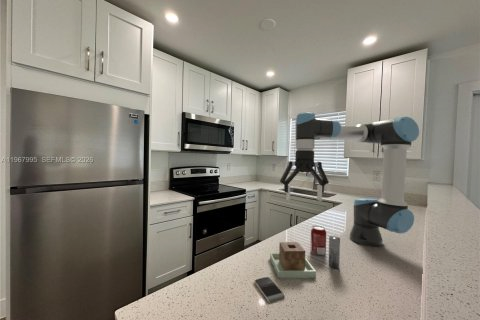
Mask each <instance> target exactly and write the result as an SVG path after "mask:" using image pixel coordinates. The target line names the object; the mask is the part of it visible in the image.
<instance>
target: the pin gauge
mask: <svg viewBox="0 0 480 320" xmlns="http://www.w3.org/2000/svg"><path fill="white" fill-rule="evenodd" d="M328 239H329V240H328V267H329V268H330V269H333V270H334V271H335V270H340V265H341V264H340V262H341V261H340V254H341V250H340V249H341V238H340V237H339V236H335V235H329V236H328Z"/></svg>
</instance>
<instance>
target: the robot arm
mask: <svg viewBox="0 0 480 320" xmlns="http://www.w3.org/2000/svg"><path fill="white" fill-rule="evenodd" d="M419 136H420V129H419V124H418V123H417V122H416V121H415V119H413V118H412V117H409V116H399V117H395V118H390V119H389V118H388V119H383V120H379V121H374V122H371V123H364V124H363V123H360V124H357V125H341V123H340V122H339V121H338V120H333V119H324V118H322V119H320V118H316V114H315V113H314V112H309V111H307V112H301V113H298V114H297V115H296V118H295V150H296V151H295V161H290V160H289V161H288V162H287V166H286V168H285V170H284V173H282V175H281V178H280V180H279V183H281V184H283V186H284V187H283V188H284V189H283V192H284V193H285V195H286V196H285V197H286V198H285V199H286V201H288V202H291V185H290V183H291V182H292V181H293V179H295V177H296V176H297V175H298V174H299V173H309V174H311V175H312V177H313V178H314V179H315V180H316V181H317V183H318V184H317V186H316V187H317V191H316V193H317V194H316V201H320V202H323V193H324V192H325V186H326V185H328V184H329V183H330V181H329V180H328V178H327V175H326V172H325V171H324V168H323V163H322V162H321V161H316V162H315V151H314V150H315V141H355V142H356V143H367V144H380V147H381V148H382V149H383V159H382V161H383V162H382V181H381V194H380V195H381V197H380V198H379V199H378V198H367V197H366V198H365V197H362V198H355V199H354V203H353V224H352V228H351V230H350V232H349V239H350V240H351V241H352V242H354V243H357V244H360V245H363V246H369V247H380V246H383V238H382V234H381V231H380V228H381V229H384V230H387V231H389V232H391V233H395V234H399V235H401V234H405V233H408V231H410V230H411V229H412V227H413V225H414V222H415V215H414V213H413V212H412V210H410V209H408V208H409V204H408V203H407V202H406V201H405V188H406V187H405V186H406V170H407V169H406V168H407V150H409V149H410V147H412V143H413V142H415V141H416V140H418V138H419ZM294 166H295V169H294V170H292V167H294ZM314 167H316V170H317V172H318V173H319V174H318V173H317V172H316V170H315V168H314ZM291 170H292V173H291ZM289 174H290V175H289Z"/></svg>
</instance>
